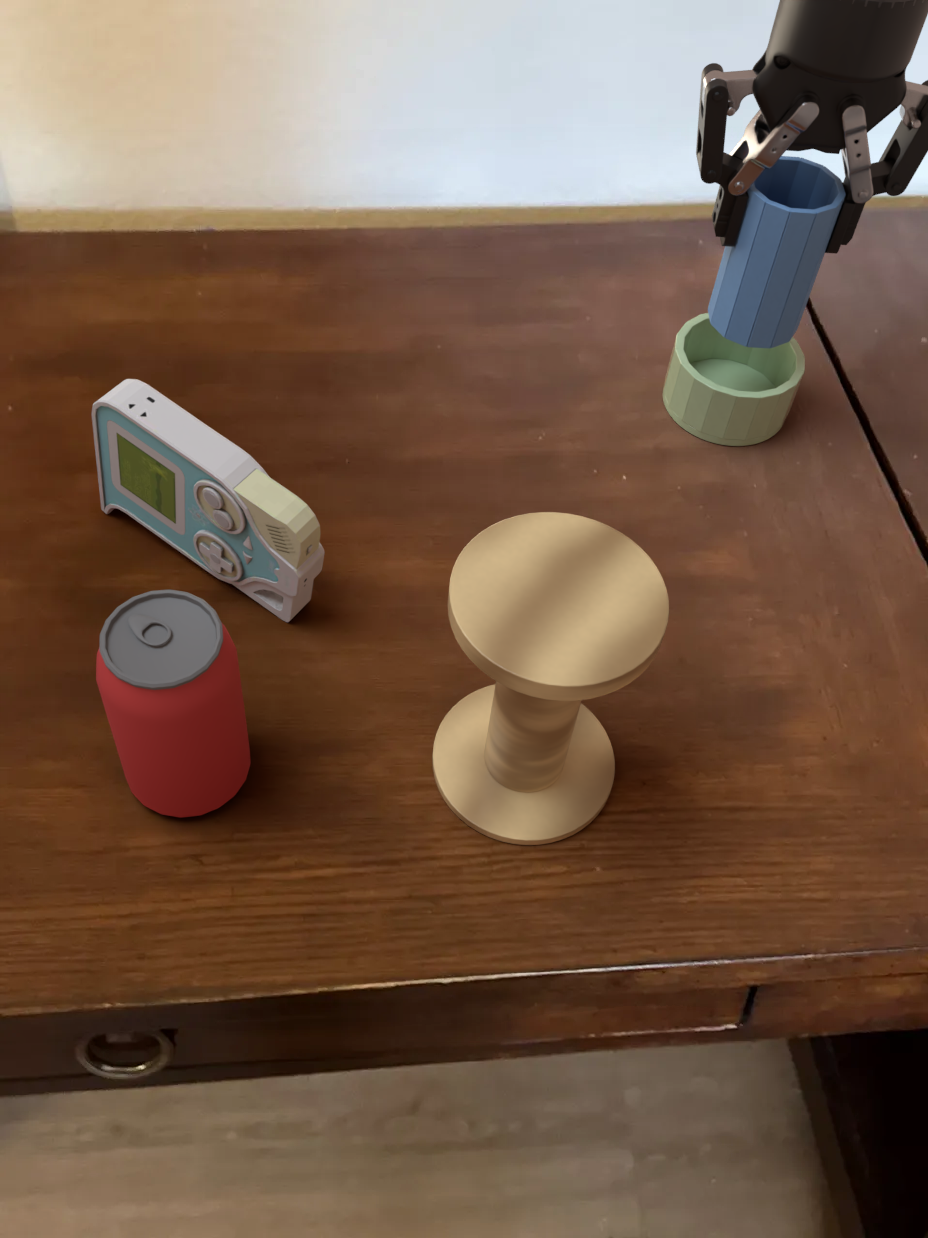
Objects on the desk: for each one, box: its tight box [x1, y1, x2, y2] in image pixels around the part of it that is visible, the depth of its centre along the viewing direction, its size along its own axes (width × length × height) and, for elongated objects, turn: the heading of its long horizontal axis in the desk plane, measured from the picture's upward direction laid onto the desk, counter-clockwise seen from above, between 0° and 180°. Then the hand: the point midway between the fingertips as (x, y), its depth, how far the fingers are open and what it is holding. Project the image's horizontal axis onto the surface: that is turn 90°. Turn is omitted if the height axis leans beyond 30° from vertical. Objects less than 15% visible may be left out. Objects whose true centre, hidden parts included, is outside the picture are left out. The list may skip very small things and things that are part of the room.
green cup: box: [661, 312, 806, 447], centre depth 84 cm, size 9×9×4 cm
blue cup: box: [707, 155, 846, 348], centre depth 76 cm, size 6×6×10 cm
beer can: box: [95, 589, 252, 819], centre depth 60 cm, size 7×7×12 cm
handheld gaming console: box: [91, 378, 326, 623], centre depth 70 cm, size 11×3×15 cm
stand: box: [431, 511, 670, 846], centre depth 61 cm, size 10×10×15 cm
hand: (777, 241), depth 75 cm, fingers closed on blue cup, 6 cm apart
